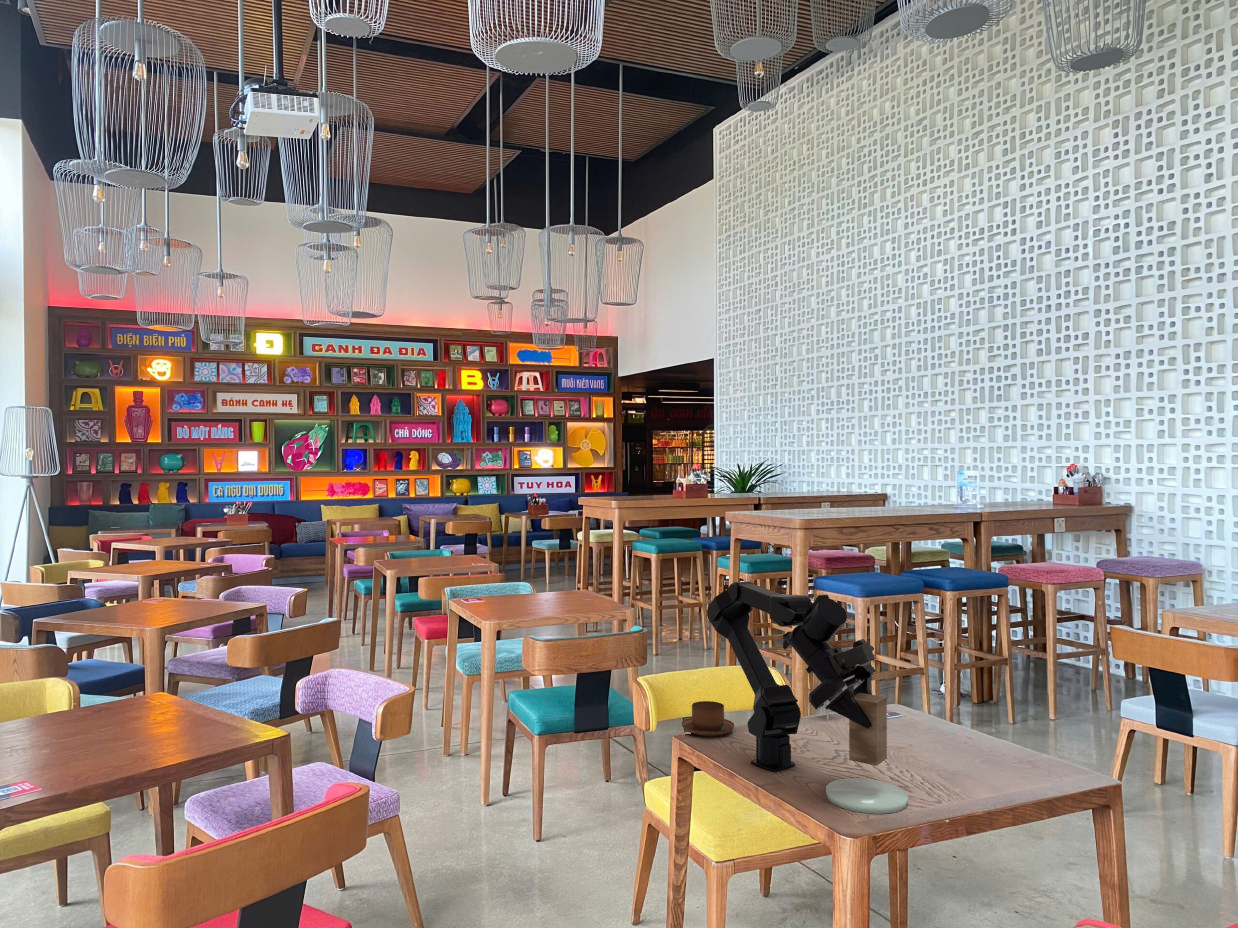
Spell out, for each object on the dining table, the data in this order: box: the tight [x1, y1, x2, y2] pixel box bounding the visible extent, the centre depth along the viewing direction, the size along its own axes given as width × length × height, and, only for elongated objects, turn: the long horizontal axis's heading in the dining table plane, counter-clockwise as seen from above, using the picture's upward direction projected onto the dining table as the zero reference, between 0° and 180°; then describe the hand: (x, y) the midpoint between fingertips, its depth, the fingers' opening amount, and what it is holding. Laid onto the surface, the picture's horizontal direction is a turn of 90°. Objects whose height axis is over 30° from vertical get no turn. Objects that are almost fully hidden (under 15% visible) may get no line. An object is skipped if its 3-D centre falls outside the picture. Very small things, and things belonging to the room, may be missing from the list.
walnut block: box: [848, 693, 888, 767], centre depth 148 cm, size 5×5×11 cm
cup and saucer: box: [681, 700, 735, 737], centre depth 189 cm, size 12×12×6 cm
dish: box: [825, 777, 909, 815], centre depth 148 cm, size 14×14×1 cm
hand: (875, 723), depth 148 cm, fingers closed on walnut block, 5 cm apart
